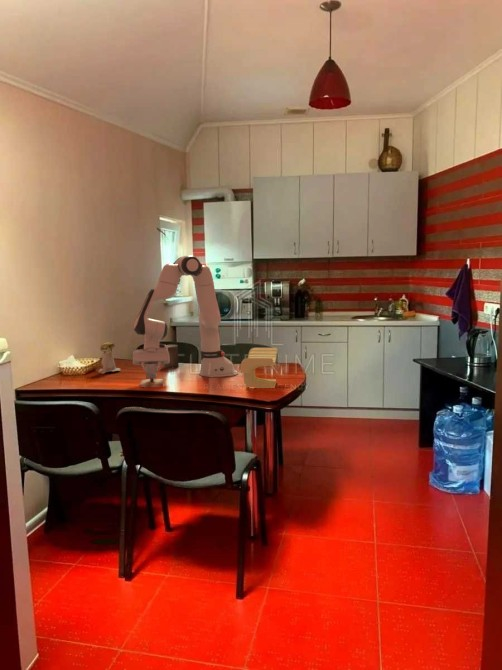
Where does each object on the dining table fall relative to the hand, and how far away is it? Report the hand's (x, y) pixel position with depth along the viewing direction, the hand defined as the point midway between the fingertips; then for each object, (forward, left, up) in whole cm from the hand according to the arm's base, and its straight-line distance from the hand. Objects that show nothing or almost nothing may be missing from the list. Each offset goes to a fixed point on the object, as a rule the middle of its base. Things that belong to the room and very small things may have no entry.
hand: (151, 369), depth 278 cm
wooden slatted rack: (-58, +12, -8) cm, 60 cm away
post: (0, -1, -8) cm, 8 cm away
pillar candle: (-8, -45, -8) cm, 46 cm away
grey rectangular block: (0, -1, -4) cm, 4 cm away
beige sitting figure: (+29, -39, -8) cm, 49 cm away
